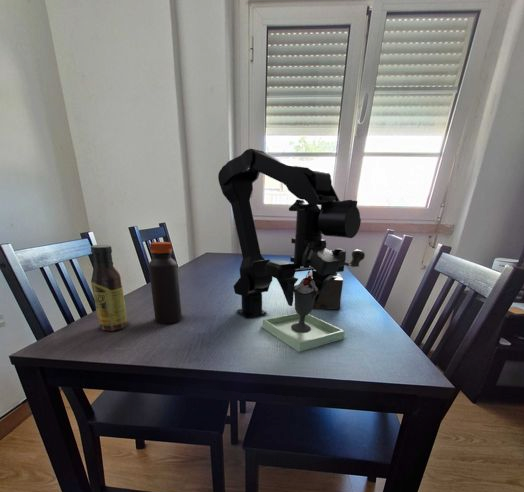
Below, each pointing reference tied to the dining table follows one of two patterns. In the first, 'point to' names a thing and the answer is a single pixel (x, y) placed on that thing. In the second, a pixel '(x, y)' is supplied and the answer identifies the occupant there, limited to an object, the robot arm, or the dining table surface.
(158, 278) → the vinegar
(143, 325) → the dining table surface
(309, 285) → the sundae
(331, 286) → the manual coffee grinder
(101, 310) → the sauce bottle
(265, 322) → the serving tray
